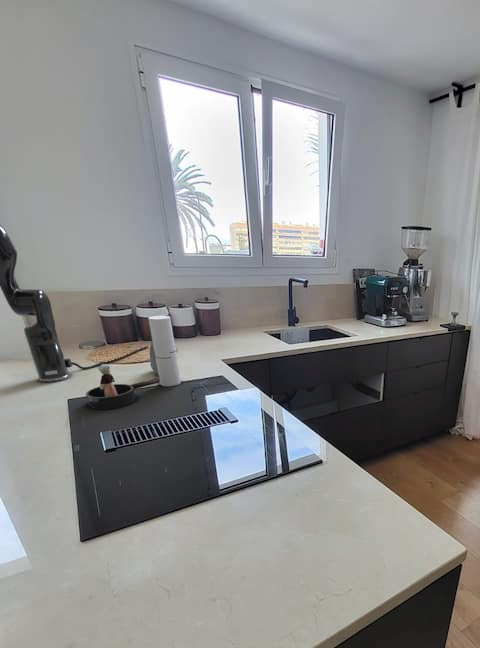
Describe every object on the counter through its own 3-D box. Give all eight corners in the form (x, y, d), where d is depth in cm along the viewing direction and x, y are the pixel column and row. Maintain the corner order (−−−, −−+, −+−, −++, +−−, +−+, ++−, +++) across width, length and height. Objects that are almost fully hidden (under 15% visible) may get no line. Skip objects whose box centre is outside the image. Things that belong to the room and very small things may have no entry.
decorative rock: (151, 369, 166) (144, 334, 160) (167, 367, 170) (161, 332, 164) (158, 380, 154) (151, 342, 148) (176, 377, 158) (170, 340, 152)
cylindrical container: (184, 382, 153) (174, 317, 143) (169, 387, 147) (157, 319, 137) (171, 379, 155) (160, 315, 145) (156, 384, 149) (143, 317, 140)
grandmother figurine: (115, 404, 129) (106, 367, 124) (102, 404, 128) (92, 367, 123) (122, 396, 136) (114, 360, 131) (110, 396, 135) (101, 361, 130)
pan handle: (131, 390, 136) (130, 385, 135) (128, 389, 137) (127, 384, 136) (161, 382, 144) (160, 378, 143) (158, 381, 145) (157, 377, 144)
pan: (99, 395, 138) (96, 384, 136) (141, 393, 140) (138, 383, 138) (81, 410, 125) (78, 398, 124) (127, 408, 128) (124, 397, 126)
